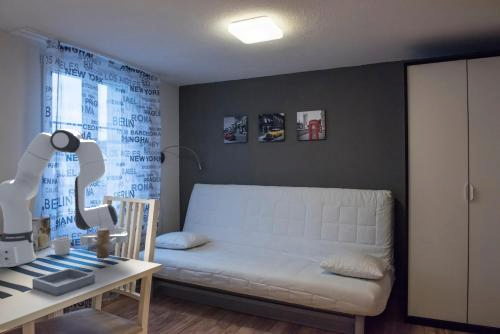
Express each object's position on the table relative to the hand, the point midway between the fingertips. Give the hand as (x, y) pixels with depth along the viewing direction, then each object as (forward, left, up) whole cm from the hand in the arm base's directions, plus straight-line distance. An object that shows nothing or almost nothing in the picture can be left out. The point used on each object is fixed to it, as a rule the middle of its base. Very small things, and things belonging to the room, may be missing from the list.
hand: (103, 242), depth 151 cm
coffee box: (-37, +51, -13) cm, 64 cm away
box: (-13, -13, -13) cm, 22 cm away
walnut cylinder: (0, +1, -7) cm, 7 cm away
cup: (-24, +35, -13) cm, 44 cm away
